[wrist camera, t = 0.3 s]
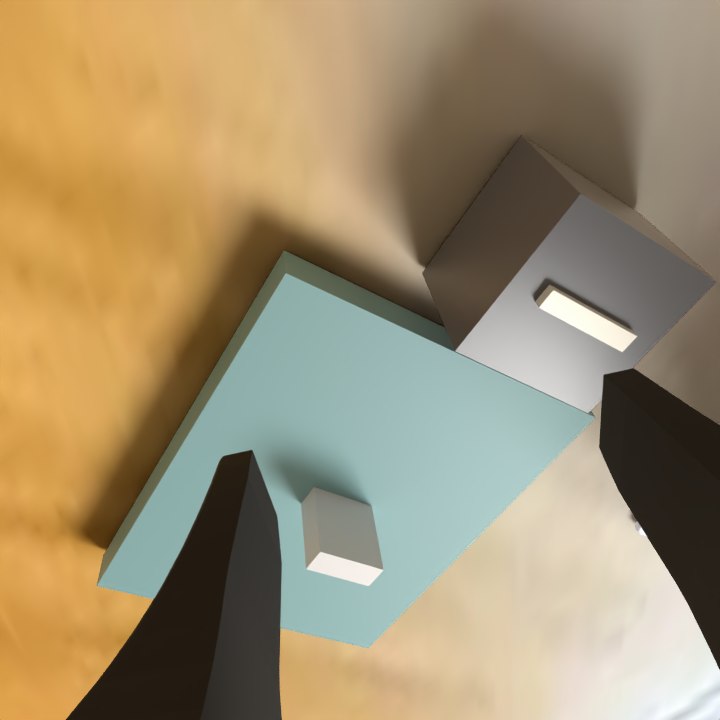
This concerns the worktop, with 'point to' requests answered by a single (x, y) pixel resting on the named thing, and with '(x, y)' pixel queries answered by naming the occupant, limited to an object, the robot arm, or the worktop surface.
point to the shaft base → (347, 452)
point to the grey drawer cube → (558, 279)
